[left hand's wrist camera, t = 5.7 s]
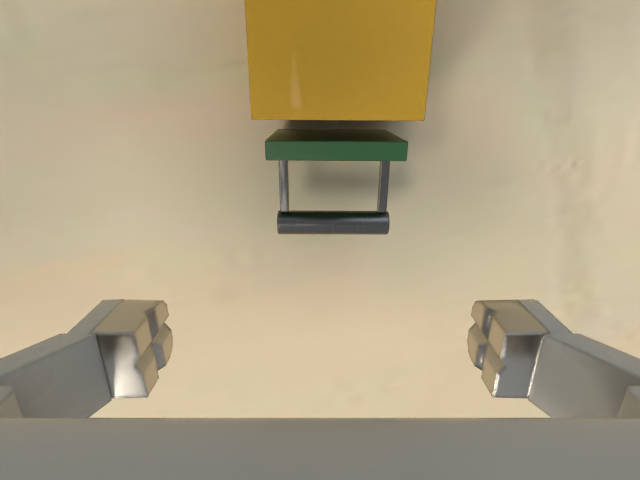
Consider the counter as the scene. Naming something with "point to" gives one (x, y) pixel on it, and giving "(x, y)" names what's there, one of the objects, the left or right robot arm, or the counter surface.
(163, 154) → the counter surface
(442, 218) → the counter surface
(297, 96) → the cabinet
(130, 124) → the counter surface
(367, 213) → the drawer
